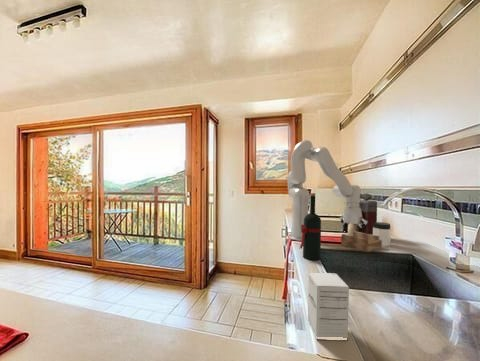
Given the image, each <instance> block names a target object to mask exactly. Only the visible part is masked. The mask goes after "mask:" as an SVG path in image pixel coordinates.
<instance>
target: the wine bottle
mask: <svg viewBox="0 0 480 361" xmlns="http://www.w3.org/2000/svg"><path fill="white" fill-rule="evenodd" d="M309 196H310V197H309V212H308V215H306V216H305V218H304V225H301V232H302V241H300V242H301V244H300V246H299V249H300V250H302V258H303V259H304V260H307V261H312V262H317V261H320V260H321V255H322V254H321V250H322V249H321V248H322V240H321V238H322V219H321V217H320V216H319V215H318V214H316V193H311V192H309Z"/></svg>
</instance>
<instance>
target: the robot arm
mask: <svg viewBox="0 0 480 361" xmlns="http://www.w3.org/2000/svg"><path fill="white" fill-rule="evenodd" d="M306 160H309V161H313V162H317V163H318V165H319V166H320V169H321V170H322V173H323V174H324V175H325V176H326V177H327V178H329V179H330V180H332V181H333V182H334V184H335V185H334V186H333V187H332V189H331V190H332V194H333V195H334V196H336V197H340V198H345V199H346V201H345V202H344V205H345V206H344V209H343V215H342V216H340V217H339V220H340V222H341V224H342V229H343V232H346V231H347V232H348V223H352V224H358V225H359V227H360V228H359V232H361V233H363V227H364V226H365V225H366V224H367V222H368V221H367V220H365V219H364V218H362V211H361V208H360V200H361V187H360V185H356V184H351V182H350V181H349V179H348V177H347V176H346V175H345V174H344V173H343V172H342V171H341V170H340V169H339V168H338V166H337V164H336V162H335V161H334V158H333V156H332V154H331V153H330V150H328V148H327V147H325V146H321V147H314V146H313V143H312V141H311V140H308V139H303V140H302V141H300V142H298V143H297V144H296V145H295V146H294V148H293V150H292V152H291V155H290V171H288V174H287V178H286V181H287V192H288V197H289V199H290V200H292V206H291V229H288V230H287V233H288V234H289V236H288V238H289V239H290V240H293V241H298V242H301V241H302V232H301V225H304V218H305V216H306V215H308V214H309V205H310V196H311V195H310V192H309V191H308V189H307V188H305V187H303V184H305V182H306V181H307V174H306V162H305V161H306ZM362 221H364V223H363V224H362Z"/></svg>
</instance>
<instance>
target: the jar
mask: <svg viewBox="0 0 480 361" xmlns="http://www.w3.org/2000/svg"><path fill="white" fill-rule="evenodd" d="M391 232H392V228H391V224H390V223H387V222H381V221H380V222H379V221H377V222H374V227H373V235H376V236H379V240H382V247H386V248H387V247H390V246H391V241H392V240H391V237H392V236H391V235H392V234H391Z"/></svg>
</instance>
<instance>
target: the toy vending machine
mask: <svg viewBox="0 0 480 361" xmlns="http://www.w3.org/2000/svg"><path fill="white" fill-rule="evenodd" d="M361 197H362V198H361V199H360V208H361V211H362V218H364V219H365V220H367V221H368V222H367V224H366V225H365V226H364V227H363V233H366V234H371V235H373V227H374V222H378V201H377V200H370V199H371V195H370V194H369V193H368V192H367V193H363V194H362V195H361ZM363 223H364V221H362V224H363ZM359 228H360V227H359V225H358V224H357V232H359Z"/></svg>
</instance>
